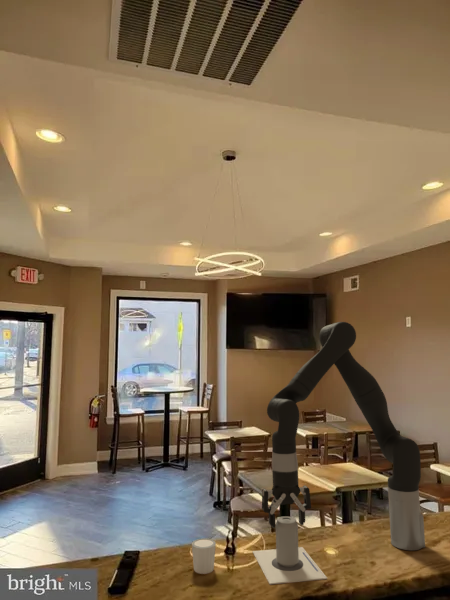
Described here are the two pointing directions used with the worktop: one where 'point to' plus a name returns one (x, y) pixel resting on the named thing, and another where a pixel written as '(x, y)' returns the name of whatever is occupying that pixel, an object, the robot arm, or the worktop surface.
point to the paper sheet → (288, 568)
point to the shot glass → (203, 555)
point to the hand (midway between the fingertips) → (287, 525)
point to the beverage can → (287, 541)
